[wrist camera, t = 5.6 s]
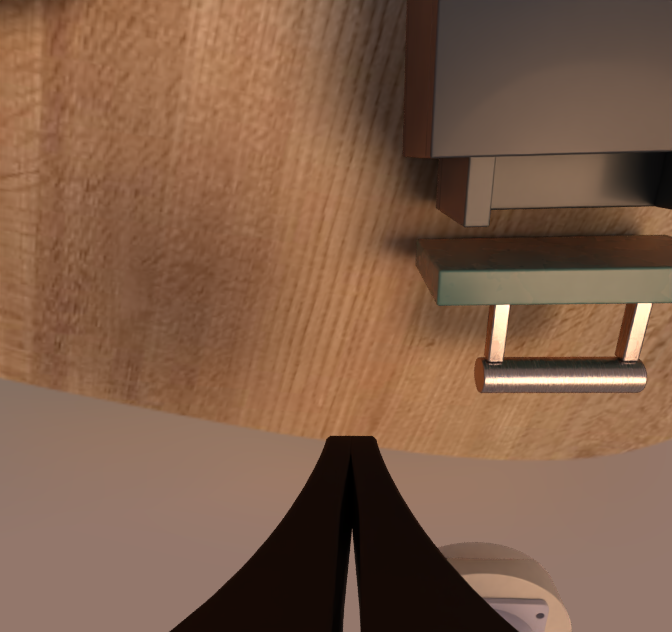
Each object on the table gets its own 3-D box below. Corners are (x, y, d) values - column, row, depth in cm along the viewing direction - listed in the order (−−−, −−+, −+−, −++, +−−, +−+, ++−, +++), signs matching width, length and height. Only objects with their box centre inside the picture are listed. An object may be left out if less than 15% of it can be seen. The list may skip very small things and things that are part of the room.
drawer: (636, 352, 20) (730, 418, 15) (411, 353, 20) (429, 418, 15) (752, -115, 14) (978, -267, 9) (430, -97, 14) (470, -230, 9)
